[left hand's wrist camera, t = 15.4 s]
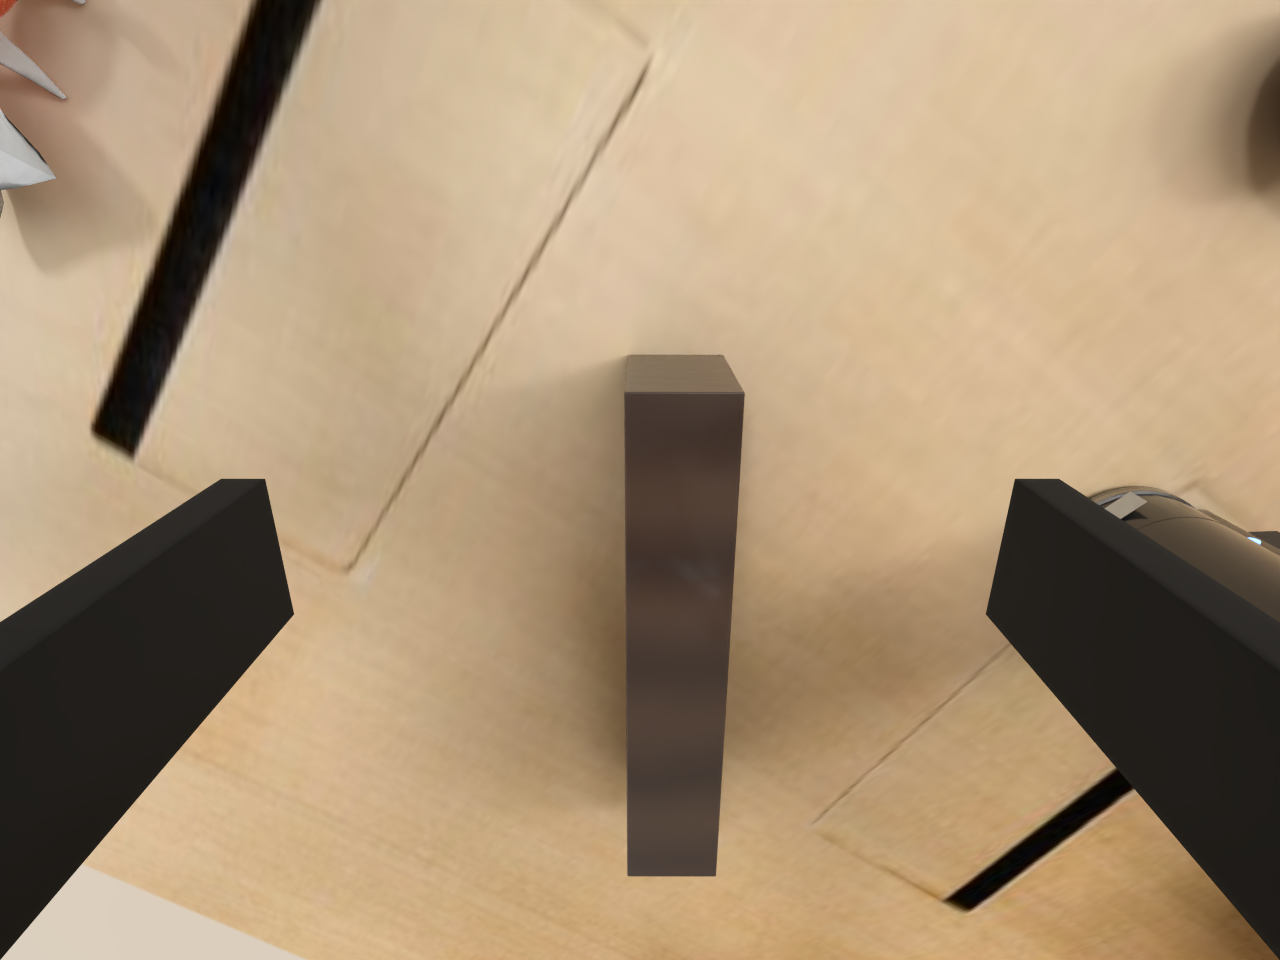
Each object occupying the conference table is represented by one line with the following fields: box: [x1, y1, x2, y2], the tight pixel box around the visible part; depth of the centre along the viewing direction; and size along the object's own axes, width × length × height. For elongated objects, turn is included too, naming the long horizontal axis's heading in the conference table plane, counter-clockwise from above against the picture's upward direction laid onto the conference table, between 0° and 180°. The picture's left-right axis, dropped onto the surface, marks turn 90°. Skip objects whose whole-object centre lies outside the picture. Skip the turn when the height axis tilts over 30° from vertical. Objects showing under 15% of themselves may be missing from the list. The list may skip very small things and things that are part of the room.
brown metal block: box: [624, 355, 745, 876], centre depth 37 cm, size 28×5×8 cm, turn 0°
